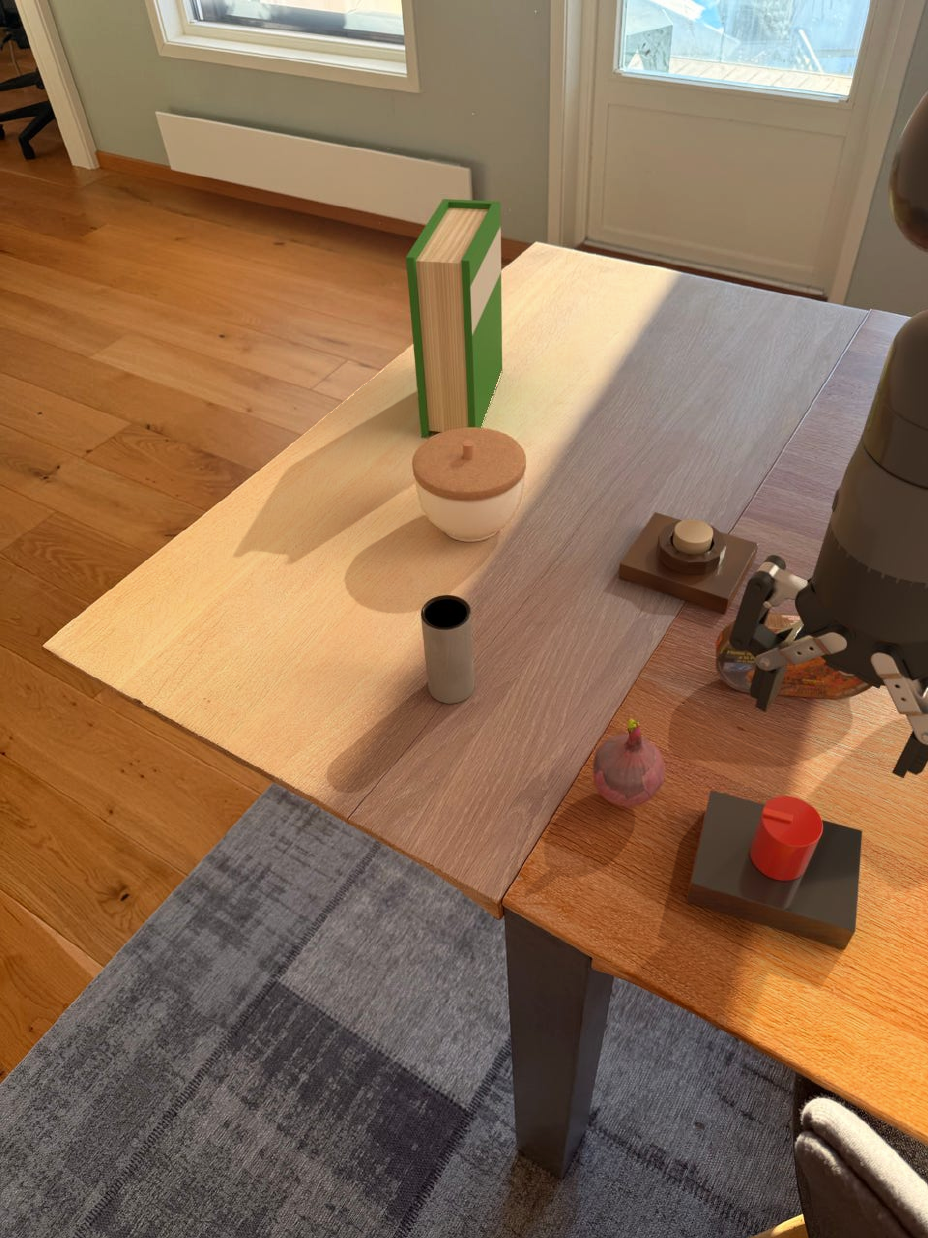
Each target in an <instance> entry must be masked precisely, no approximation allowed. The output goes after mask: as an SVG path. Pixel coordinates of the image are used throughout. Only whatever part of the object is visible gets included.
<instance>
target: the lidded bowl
mask: <svg viewBox="0 0 928 1238" xmlns="http://www.w3.org/2000/svg"><path fill="white" fill-rule="evenodd" d="M411 465H412V473H413V476H414V482H415V488H416V489H415V490H416V494H417V499H418V501H419V503H420V506H421V508H422V511H423V513H424V514H425V516H426V518H427V519H428V520H429V521H430V522H431V524H433V525H434V527H436V528H437V529H438V530H440V531H441V532H443V533H445V534H446V535H447V536H448V537H450V538H452V539H454V540H456V541H459V542H466V543H475V542H481V541H484V540H488V539H490V538H492V537H493V536H495V535H496V534H497V533H498V532H500V530H502V529H503V528H504V527H506V526H507V525H508V524H509V523H510V521H511V520H512V519H513V517H515V515H516V513H517V512H518V509H519V507H520V504H521V500H522V498H523V493H524V487H525V472H526V469H527V468H526V467H527V456H526V453H525V449H524V448H523V447H522V445H521V444H520V443H519V442H518V441H517V440H515V438H513V437H512V436H510V435H508V434H506V433H504V432H501V431H499V430H495V429H492V428H488V427H487V428H485V427H482V428H477V427H465V428H457V429H452V430H448V431H444V432H438V433H436V434H434V435H432V436H430V437H428V438H427V439H426V440H424V441H423V442H422V443H421V444H420V445H419V446H418V447H417V449H416V450H415V451H414V454H413V456H412V460H411Z"/></svg>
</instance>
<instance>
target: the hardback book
mask: <svg viewBox="0 0 928 1238" xmlns="http://www.w3.org/2000/svg"><path fill="white" fill-rule="evenodd" d="M501 215H502V214H501V201H498V200H497V201H495V200H477V199H476V200H472V199H452V198H442V200H441V202H440V203H439V204H438V206H437V207H436V209H435V210H434V212H433V214H432V215H431V217H430V218H429V220H428V222H427V223H426V225H425V226H424V228H423V230H422V231H421V233H420V234H419V236H418V237H417V239H416V240H415V242H414V243H413V245H412V247H411V248H410V250H409V252H408V253H407V255H406V256H405V264H406V276H407V287H408V299H409V309H410V311H409V313H410V321H411V333H412V334H411V335H412V345H413V346H412V347H413V357H414V358H413V359H414V369H415V377H416V378H415V379H416V381H415V382H416V390H417V392H416V393H417V404H418V405H417V406H418V414H419V416H418V417H419V427H420V438H426V437H428V438H430V435H429V434H431V432H438V433H441V432H444V431H448V430H452V429H457V428H465V427H477V428H481V426H482V427H483V425H482V423H483V420H484V417H485V414H486V413H487V414H488V412H487V410H488V407H489V404H490V401H491V398H492V396H493V393H494V390H495V387H496V384H497V382H498V379H499V376H500V373H501V371H502V372H503V317H502V316H503V315H502V311H503V310H502V309H503V308H502V307H503V305H502V230H501V229H502V227H501V226H502V225H501V223H502V221H501ZM490 405H491V404H490ZM489 408H490V407H489ZM488 411H489V410H488ZM485 418H486V417H485ZM484 421H485V420H484ZM483 424H484V423H483Z"/></svg>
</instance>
